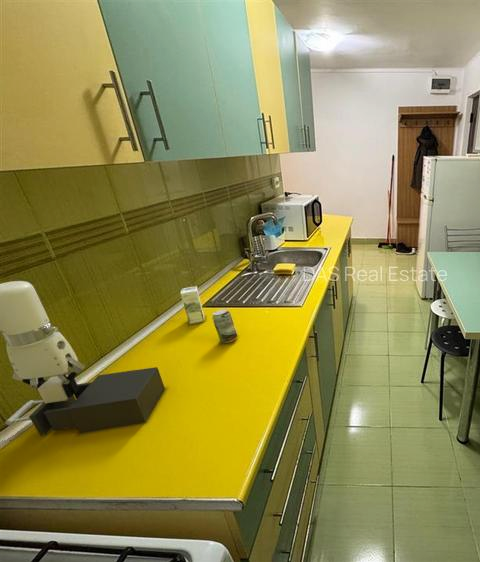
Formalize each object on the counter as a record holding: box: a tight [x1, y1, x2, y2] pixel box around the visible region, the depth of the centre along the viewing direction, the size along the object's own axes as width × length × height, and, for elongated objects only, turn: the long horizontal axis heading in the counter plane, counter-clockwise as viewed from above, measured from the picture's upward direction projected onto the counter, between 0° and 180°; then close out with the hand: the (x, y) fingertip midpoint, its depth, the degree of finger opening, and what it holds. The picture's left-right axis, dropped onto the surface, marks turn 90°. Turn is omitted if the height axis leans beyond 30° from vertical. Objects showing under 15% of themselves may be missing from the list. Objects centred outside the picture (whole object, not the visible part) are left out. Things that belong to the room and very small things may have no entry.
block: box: [36, 374, 69, 403], centre depth 76 cm, size 4×4×4 cm
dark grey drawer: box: [4, 381, 93, 436], centre depth 79 cm, size 21×11×6 cm, turn 103°
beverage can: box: [211, 308, 238, 344], centre depth 112 cm, size 6×7×12 cm
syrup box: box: [180, 285, 205, 325], centre depth 125 cm, size 6×6×14 cm
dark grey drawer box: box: [67, 366, 166, 435], centre depth 81 cm, size 15×13×8 cm
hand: (61, 394), depth 77 cm, fingers closed on block, 4 cm apart
